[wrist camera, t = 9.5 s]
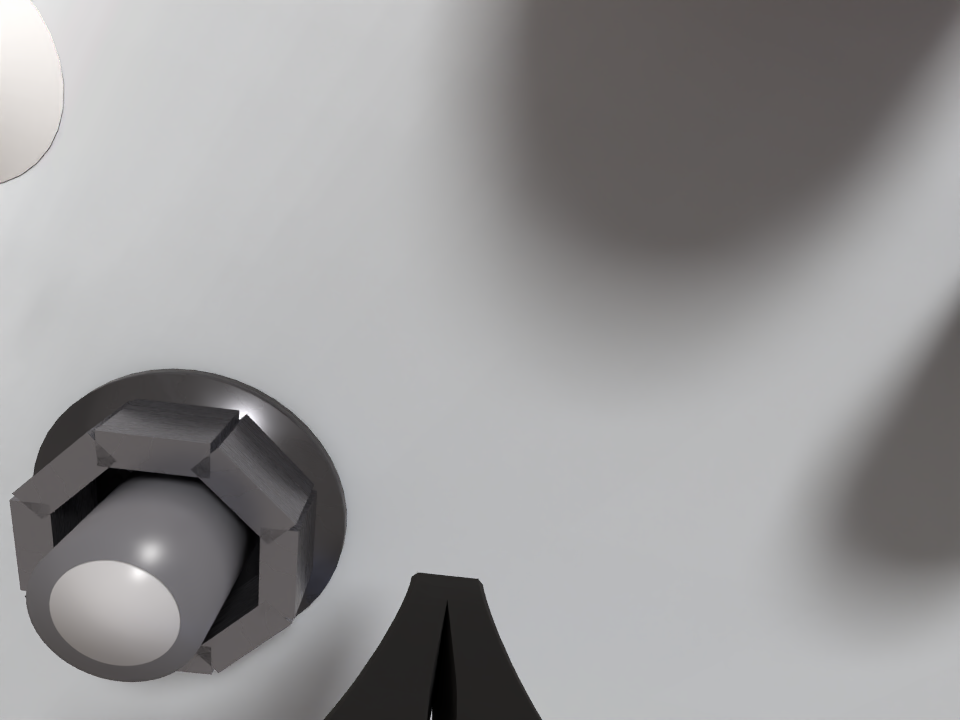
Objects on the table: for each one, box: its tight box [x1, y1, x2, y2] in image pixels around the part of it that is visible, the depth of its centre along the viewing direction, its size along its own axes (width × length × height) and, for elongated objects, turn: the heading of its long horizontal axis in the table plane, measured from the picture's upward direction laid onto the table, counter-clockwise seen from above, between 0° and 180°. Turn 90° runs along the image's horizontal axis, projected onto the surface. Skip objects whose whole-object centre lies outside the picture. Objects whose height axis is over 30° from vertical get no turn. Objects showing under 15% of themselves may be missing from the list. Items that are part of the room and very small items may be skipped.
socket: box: [10, 369, 347, 674], centre depth 22 cm, size 11×11×3 cm
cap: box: [26, 470, 259, 682], centre depth 20 cm, size 5×5×5 cm
